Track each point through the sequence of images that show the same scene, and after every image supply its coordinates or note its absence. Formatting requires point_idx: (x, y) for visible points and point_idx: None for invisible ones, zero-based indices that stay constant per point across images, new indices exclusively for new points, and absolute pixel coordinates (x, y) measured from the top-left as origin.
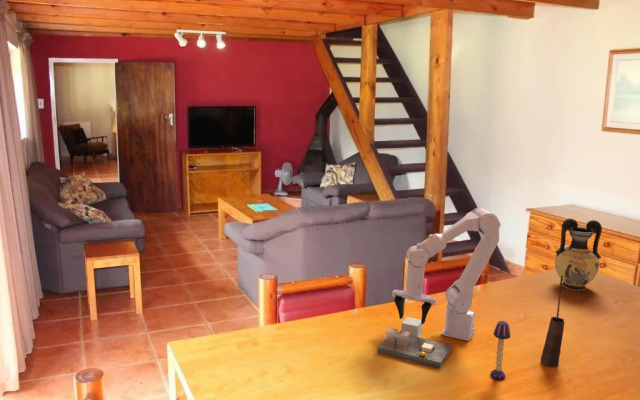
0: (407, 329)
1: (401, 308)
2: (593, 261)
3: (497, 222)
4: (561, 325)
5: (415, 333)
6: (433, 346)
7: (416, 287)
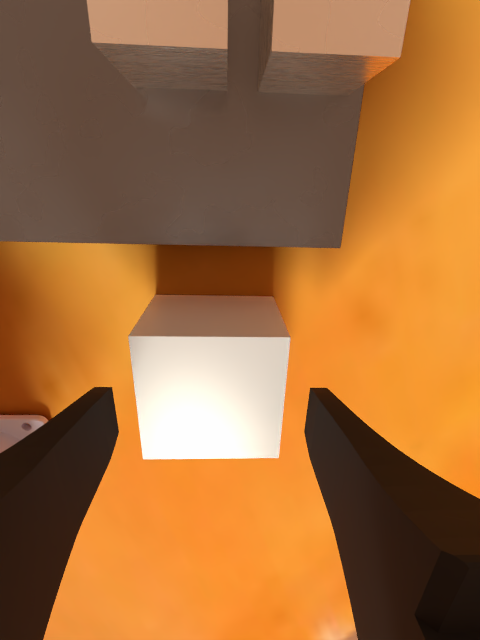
0: (229, 316)
1: (352, 476)
2: None
3: None
4: None
5: (161, 309)
6: None
7: None
